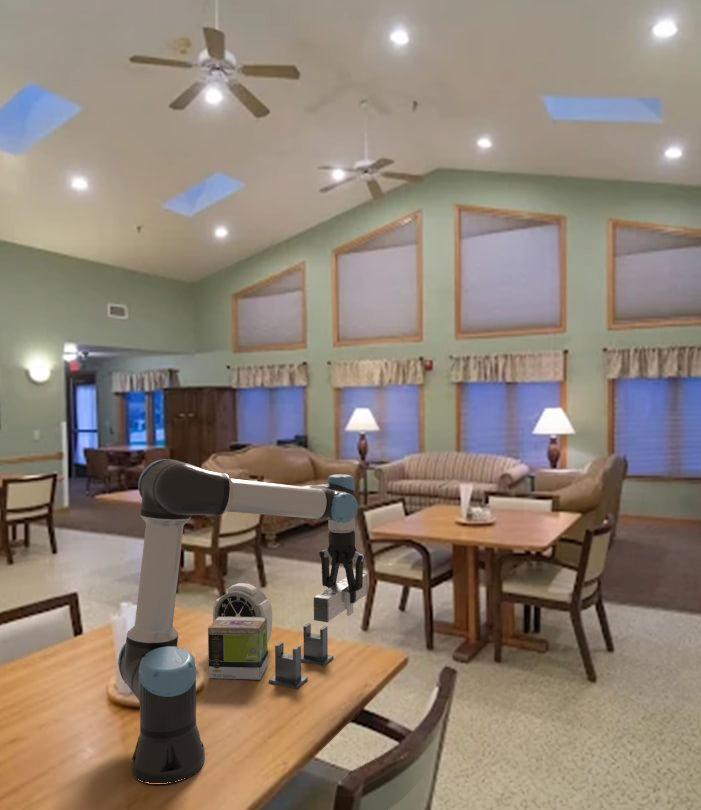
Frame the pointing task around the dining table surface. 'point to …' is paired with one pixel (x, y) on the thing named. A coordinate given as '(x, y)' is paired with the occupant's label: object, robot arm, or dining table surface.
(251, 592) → the alarm clock
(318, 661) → the post
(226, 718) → the dining table surface
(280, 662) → the post
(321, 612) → the rail
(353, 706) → the dining table surface
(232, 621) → the tea box
